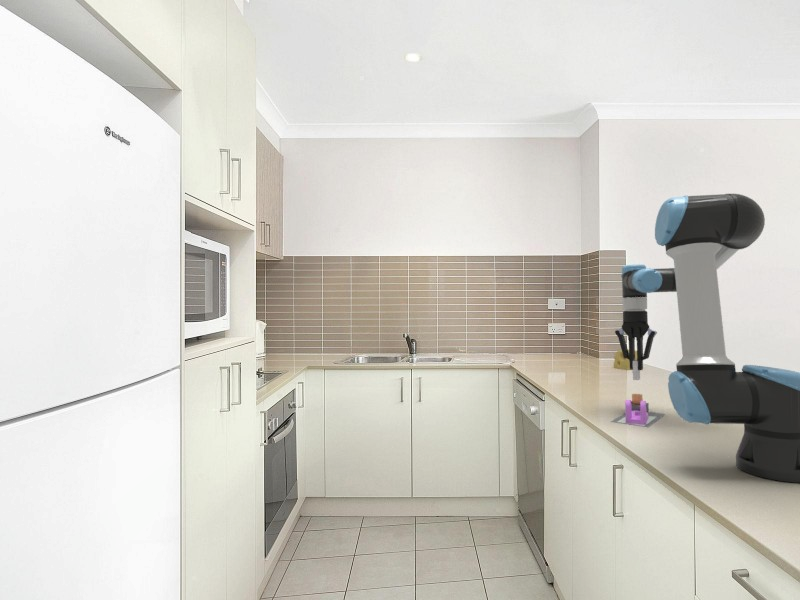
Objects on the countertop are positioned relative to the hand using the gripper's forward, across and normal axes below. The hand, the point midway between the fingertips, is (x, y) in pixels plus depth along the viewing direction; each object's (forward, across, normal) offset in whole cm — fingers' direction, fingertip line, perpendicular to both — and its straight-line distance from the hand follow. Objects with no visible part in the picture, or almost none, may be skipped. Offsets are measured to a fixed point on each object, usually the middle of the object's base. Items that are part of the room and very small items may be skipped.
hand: (636, 379), depth 164 cm
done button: (+9, 0, 0) cm, 9 cm away
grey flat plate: (+12, -3, +8) cm, 14 cm away
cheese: (+12, +34, -104) cm, 110 cm away
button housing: (+11, 0, 0) cm, 11 cm away
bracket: (+11, -3, +11) cm, 16 cm away
